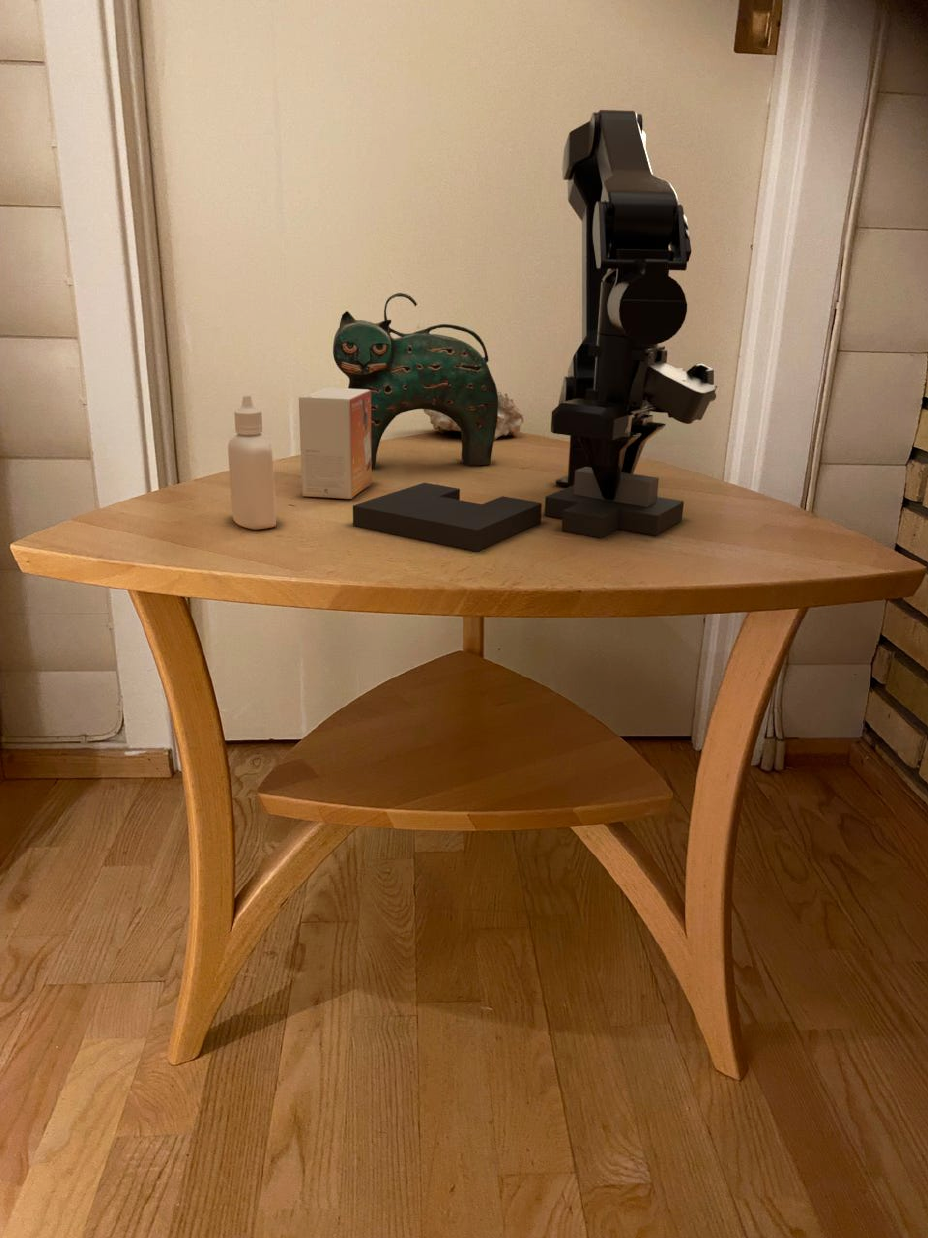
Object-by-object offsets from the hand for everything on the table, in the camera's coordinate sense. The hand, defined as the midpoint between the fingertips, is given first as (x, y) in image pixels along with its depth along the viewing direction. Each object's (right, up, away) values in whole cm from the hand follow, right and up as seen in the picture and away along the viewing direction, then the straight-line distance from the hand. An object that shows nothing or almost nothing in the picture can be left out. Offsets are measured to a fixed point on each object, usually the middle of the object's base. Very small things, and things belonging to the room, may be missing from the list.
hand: (614, 496), depth 96 cm
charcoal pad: (-17, -3, -3) cm, 17 cm away
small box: (-29, +2, +9) cm, 30 cm away
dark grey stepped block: (-1, -3, -1) cm, 3 cm away
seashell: (-14, +14, +41) cm, 46 cm away
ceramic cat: (-21, +7, +22) cm, 31 cm away
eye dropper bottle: (-35, -3, -4) cm, 36 cm away
